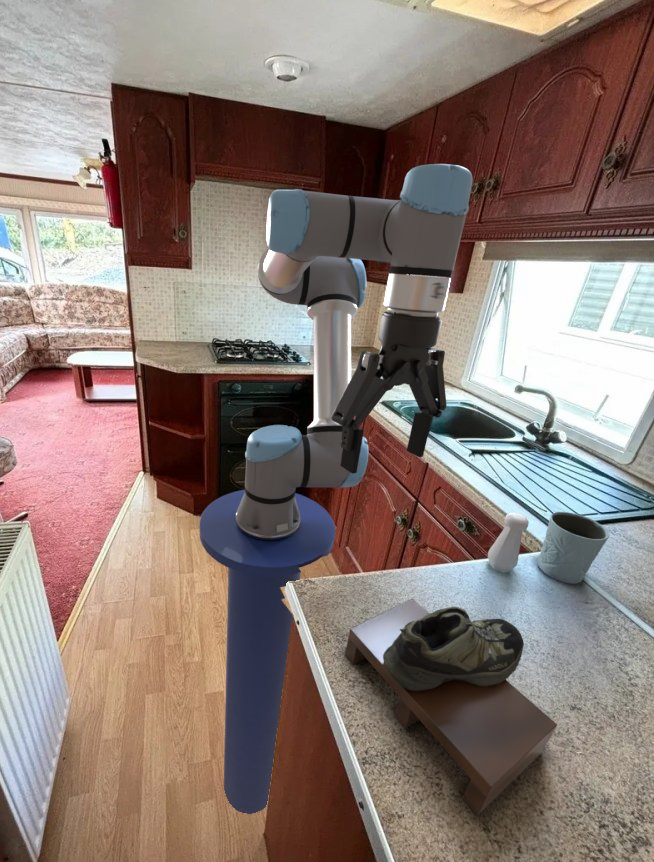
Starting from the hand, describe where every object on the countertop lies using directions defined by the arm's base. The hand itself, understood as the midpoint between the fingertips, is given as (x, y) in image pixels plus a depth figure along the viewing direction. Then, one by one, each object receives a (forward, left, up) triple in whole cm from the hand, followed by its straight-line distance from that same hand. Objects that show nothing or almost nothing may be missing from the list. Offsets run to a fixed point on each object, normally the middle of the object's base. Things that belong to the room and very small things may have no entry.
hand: (383, 461), depth 61 cm
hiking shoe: (+17, +5, -25) cm, 31 cm away
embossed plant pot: (+3, +50, -31) cm, 59 cm away
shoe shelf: (+18, +3, -31) cm, 36 cm away
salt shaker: (-2, +38, -31) cm, 49 cm away
